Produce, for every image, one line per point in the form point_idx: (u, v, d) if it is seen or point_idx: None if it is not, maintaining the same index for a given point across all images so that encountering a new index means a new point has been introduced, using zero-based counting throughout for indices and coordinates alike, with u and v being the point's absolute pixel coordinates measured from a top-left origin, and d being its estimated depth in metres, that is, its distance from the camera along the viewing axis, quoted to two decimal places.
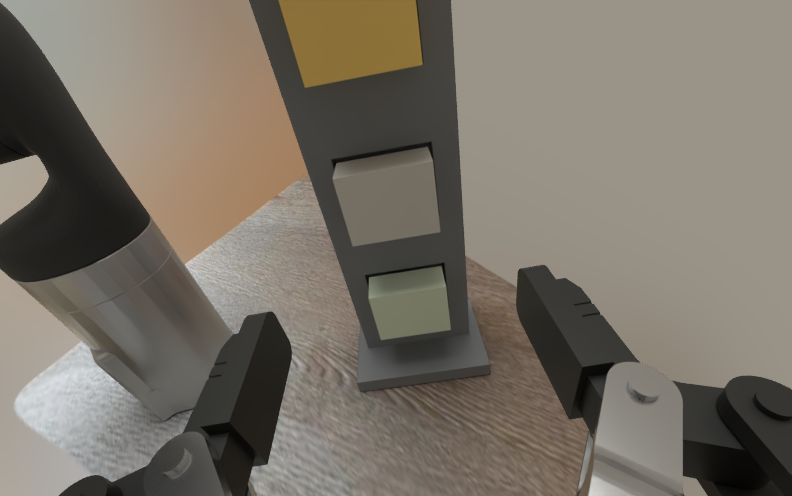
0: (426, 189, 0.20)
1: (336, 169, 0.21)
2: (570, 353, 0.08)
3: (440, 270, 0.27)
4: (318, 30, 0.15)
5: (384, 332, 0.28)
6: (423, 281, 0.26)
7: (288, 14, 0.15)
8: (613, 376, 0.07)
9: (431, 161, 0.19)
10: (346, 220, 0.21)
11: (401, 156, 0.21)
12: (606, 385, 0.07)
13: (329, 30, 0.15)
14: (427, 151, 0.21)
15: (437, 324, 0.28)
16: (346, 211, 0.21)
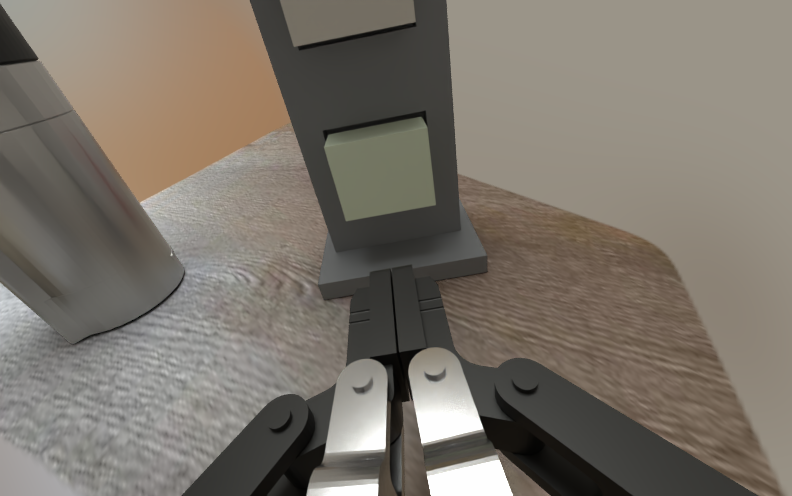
0: None
1: None
2: (398, 341, 0.09)
3: (420, 119, 0.20)
4: None
5: (350, 208, 0.21)
6: (398, 128, 0.20)
7: None
8: (412, 373, 0.08)
9: None
10: None
11: None
12: (411, 383, 0.07)
13: None
14: None
15: (418, 195, 0.21)
16: None
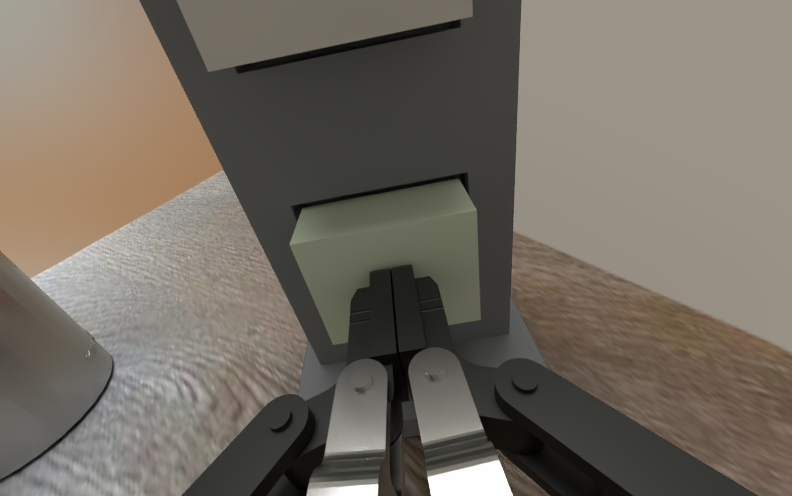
0: None
1: None
2: (398, 341, 0.09)
3: (458, 185, 0.12)
4: None
5: (339, 329, 0.13)
6: (421, 205, 0.11)
7: None
8: (412, 373, 0.08)
9: None
10: None
11: None
12: (411, 383, 0.07)
13: None
14: None
15: (452, 308, 0.13)
16: None
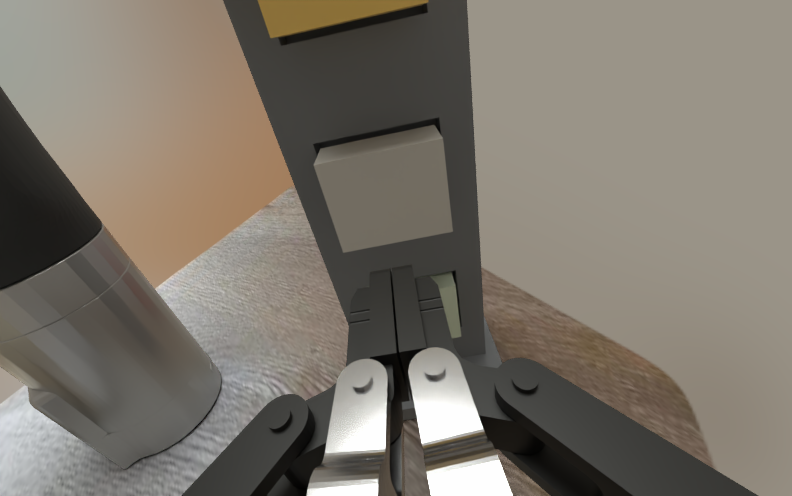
0: (435, 176, 0.16)
1: (319, 154, 0.16)
2: (398, 340, 0.09)
3: None
4: None
5: None
6: None
7: None
8: (413, 372, 0.08)
9: (441, 139, 0.15)
10: (334, 219, 0.17)
11: (401, 136, 0.16)
12: (411, 383, 0.07)
13: None
14: (434, 129, 0.16)
15: None
16: (333, 207, 0.16)
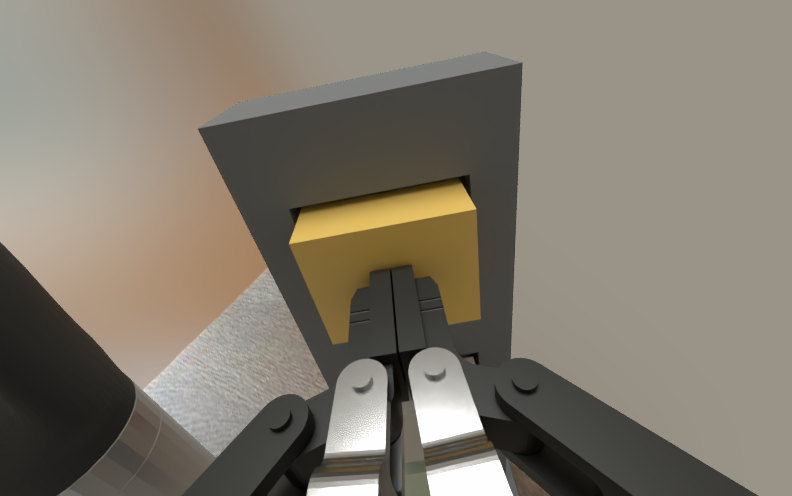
0: None
1: None
2: (398, 341, 0.09)
3: None
4: None
5: None
6: None
7: (315, 288, 0.12)
8: (412, 373, 0.08)
9: None
10: None
11: None
12: (411, 383, 0.07)
13: None
14: None
15: None
16: None
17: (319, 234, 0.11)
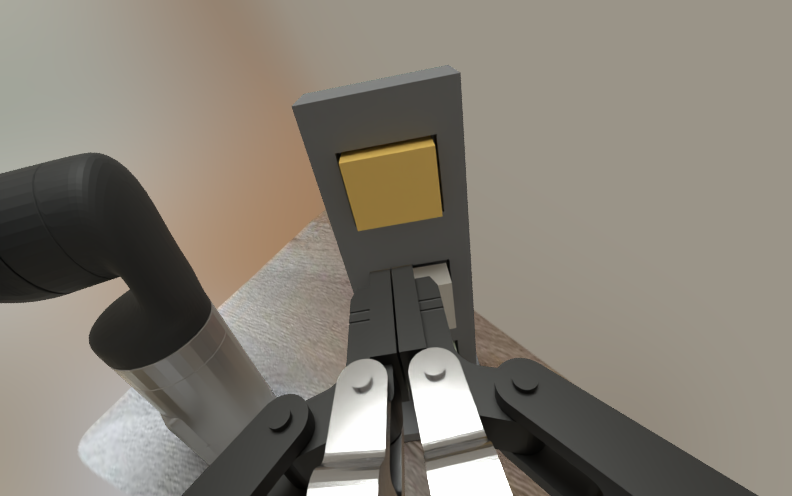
0: (446, 300, 0.26)
1: None
2: (398, 341, 0.09)
3: None
4: (370, 199, 0.22)
5: None
6: None
7: (350, 191, 0.22)
8: (413, 373, 0.08)
9: (450, 283, 0.25)
10: None
11: (425, 273, 0.26)
12: (411, 383, 0.07)
13: (377, 199, 0.22)
14: (446, 269, 0.26)
15: None
16: None
17: (354, 159, 0.21)
